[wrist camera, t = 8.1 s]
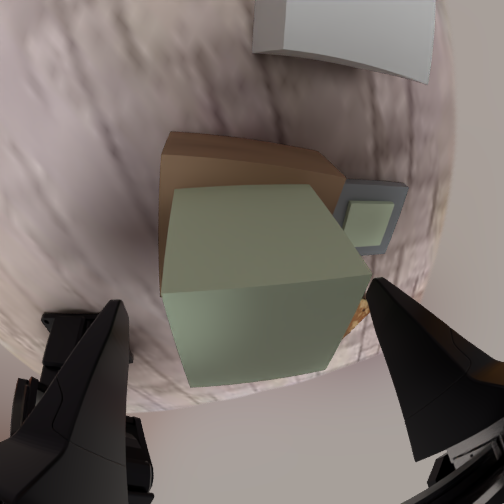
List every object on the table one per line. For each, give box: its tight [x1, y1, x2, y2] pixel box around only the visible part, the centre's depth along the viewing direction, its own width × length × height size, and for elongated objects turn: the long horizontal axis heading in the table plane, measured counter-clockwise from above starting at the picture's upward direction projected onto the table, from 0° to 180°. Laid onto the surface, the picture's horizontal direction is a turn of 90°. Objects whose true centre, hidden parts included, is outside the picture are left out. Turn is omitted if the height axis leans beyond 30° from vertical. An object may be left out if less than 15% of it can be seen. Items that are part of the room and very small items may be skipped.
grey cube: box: [252, 0, 436, 85], centre depth 6 cm, size 5×5×5 cm
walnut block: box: [158, 131, 346, 297], centre depth 13 cm, size 7×7×4 cm
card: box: [333, 179, 409, 256], centre depth 15 cm, size 5×5×1 cm
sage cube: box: [161, 184, 372, 388], centre depth 10 cm, size 5×5×5 cm
